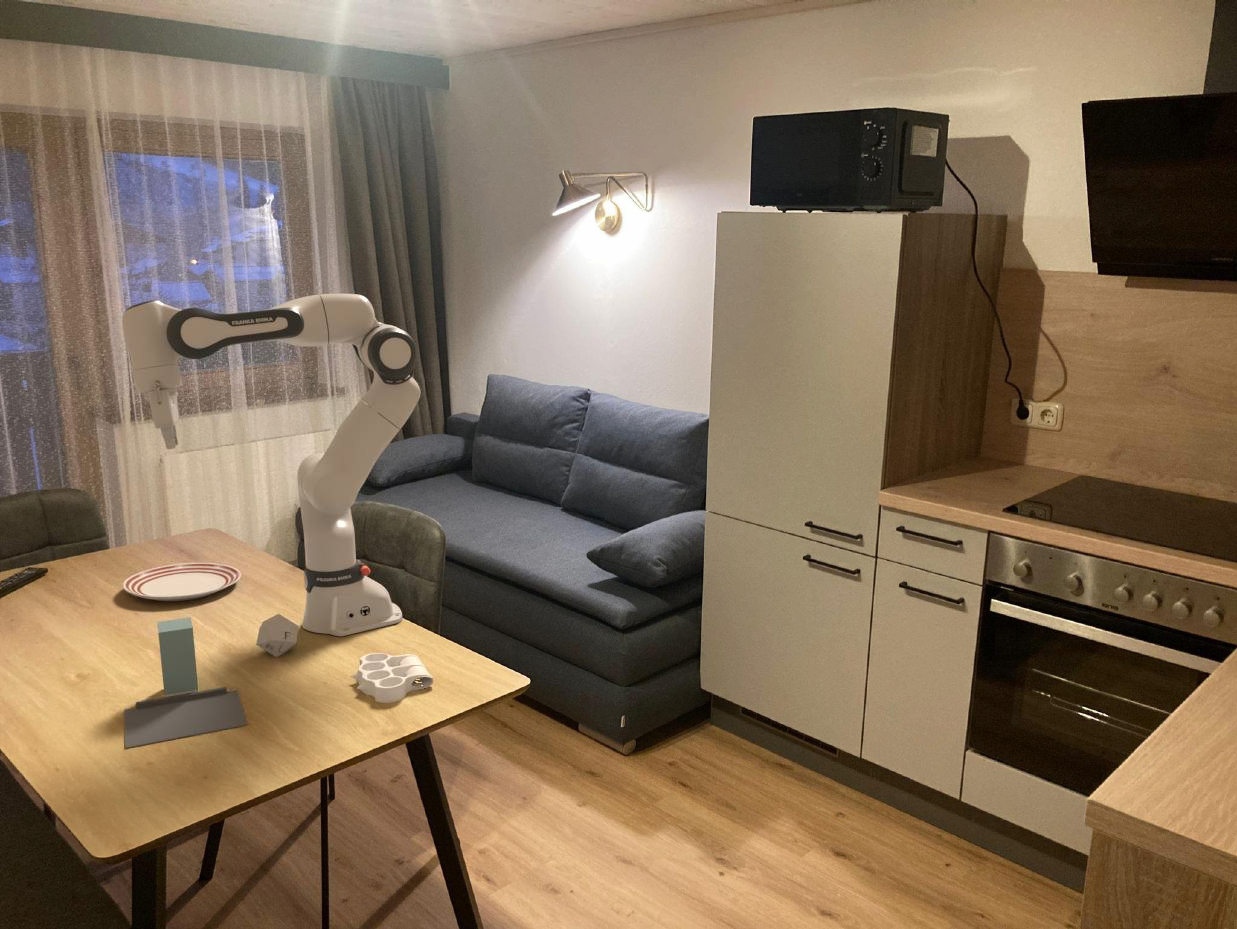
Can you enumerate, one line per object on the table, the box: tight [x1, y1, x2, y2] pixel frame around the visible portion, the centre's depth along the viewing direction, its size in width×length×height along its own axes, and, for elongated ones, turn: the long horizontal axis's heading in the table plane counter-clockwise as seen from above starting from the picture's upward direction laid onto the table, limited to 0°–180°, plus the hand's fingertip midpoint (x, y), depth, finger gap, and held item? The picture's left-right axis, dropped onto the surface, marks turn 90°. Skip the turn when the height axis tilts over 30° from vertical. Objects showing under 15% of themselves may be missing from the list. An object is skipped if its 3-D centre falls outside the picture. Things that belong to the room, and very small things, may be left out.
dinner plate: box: [122, 562, 242, 602], centre depth 250 cm, size 28×27×3 cm
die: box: [255, 613, 299, 658], centre depth 212 cm, size 8×9×10 cm
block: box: [157, 616, 199, 697], centre depth 192 cm, size 6×6×14 cm
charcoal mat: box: [124, 686, 248, 750], centre depth 183 cm, size 20×16×1 cm
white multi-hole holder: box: [350, 652, 434, 704], centre depth 199 cm, size 3×18×15 cm
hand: (172, 447), depth 205 cm, fingers open, 8 cm apart
